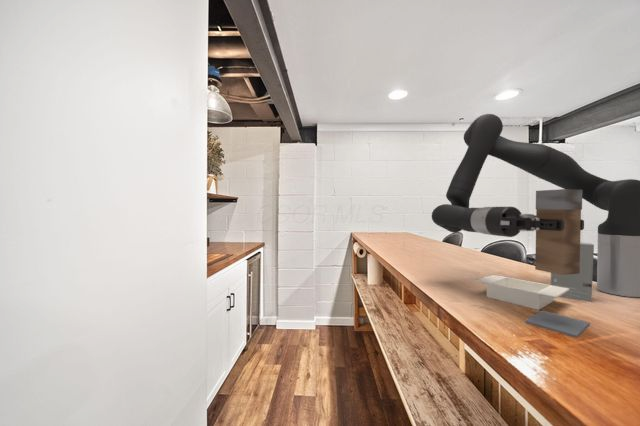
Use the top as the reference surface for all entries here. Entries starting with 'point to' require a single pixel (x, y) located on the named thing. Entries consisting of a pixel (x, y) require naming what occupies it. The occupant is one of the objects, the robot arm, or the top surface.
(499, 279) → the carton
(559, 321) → the mat
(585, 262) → the skincare box
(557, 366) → the top surface
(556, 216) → the capped block
